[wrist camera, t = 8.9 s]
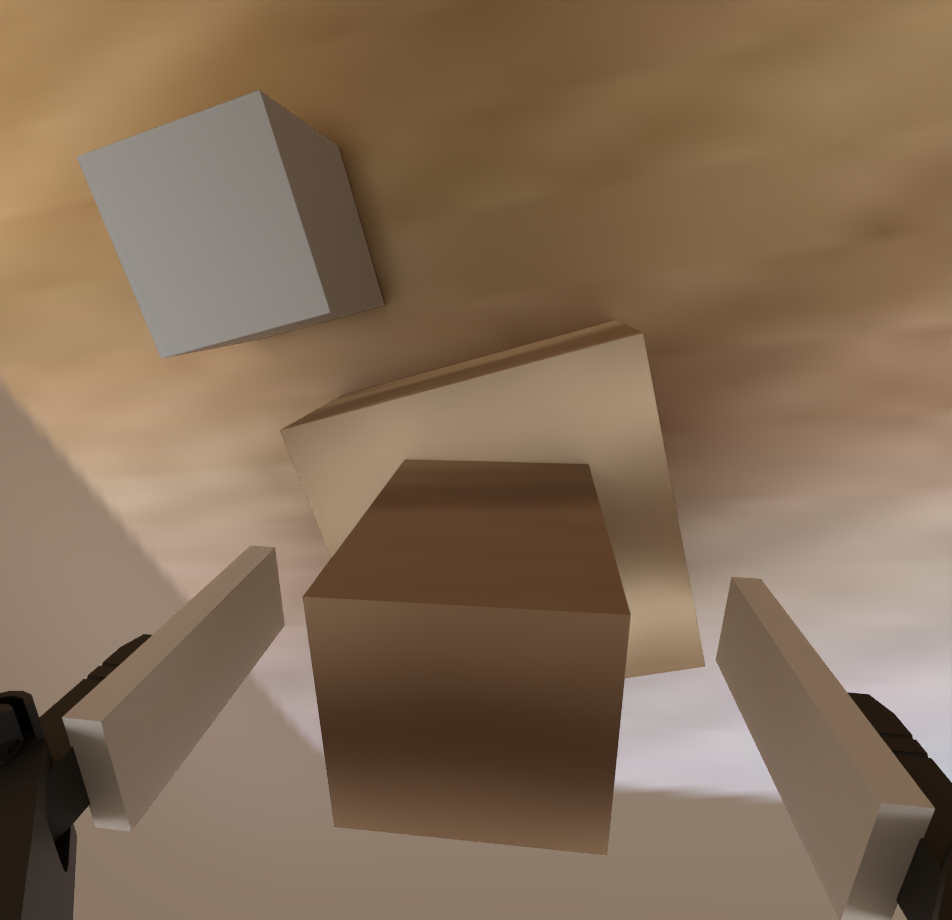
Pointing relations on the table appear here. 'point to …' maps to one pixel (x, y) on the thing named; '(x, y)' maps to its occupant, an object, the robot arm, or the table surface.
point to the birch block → (526, 458)
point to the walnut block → (474, 658)
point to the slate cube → (233, 225)
